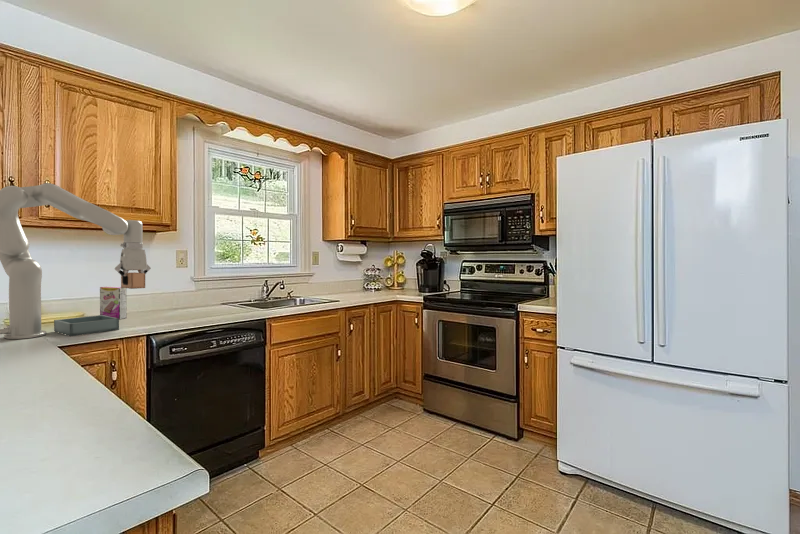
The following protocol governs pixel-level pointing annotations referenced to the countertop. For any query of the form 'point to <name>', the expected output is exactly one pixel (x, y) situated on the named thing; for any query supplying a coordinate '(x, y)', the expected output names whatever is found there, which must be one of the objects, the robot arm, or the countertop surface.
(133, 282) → the box
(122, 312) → the candy bar box
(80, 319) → the dark grey tray
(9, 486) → the countertop surface
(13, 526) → the countertop surface
